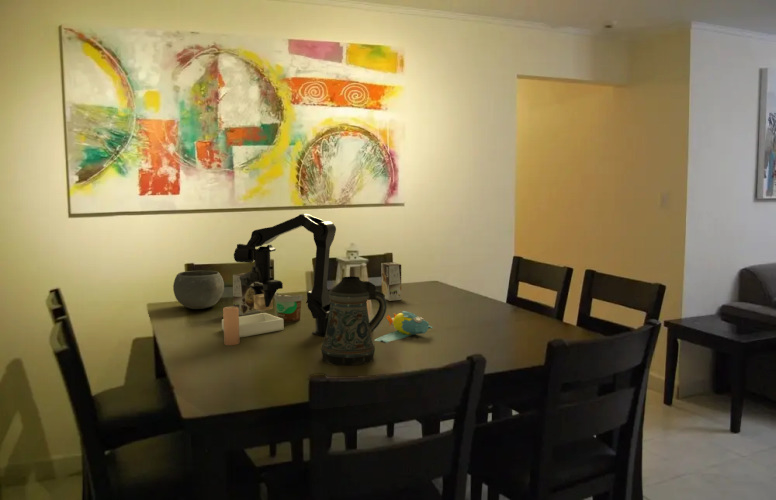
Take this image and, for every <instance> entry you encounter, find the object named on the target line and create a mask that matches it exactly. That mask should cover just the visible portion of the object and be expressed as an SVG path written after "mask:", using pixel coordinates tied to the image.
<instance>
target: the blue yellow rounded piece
mask: <svg viewBox="0 0 776 500" xmlns="http://www.w3.org/2000/svg"><path fill="white" fill-rule="evenodd" d="M393 316H394V317H391V316H390V314H387V315H386V316H385V318H386V319H387V321H388V323H389V324H388V325H389V327H390V326H391V325H393V327H394V329H395V330H394V331H391V332H389V333H386V334H384V335H381V336H379V337H377V338H376V339H374V342H375V341H376V342H383V343H385V344H388V343H390V342H392V341H398V340H401V339H406V338H408V337H410V336H413V335H420V334H426V333H427V332H428V330H429V328H430V329H433V326H431V325H430V324H429V321H426V320H425V319H424V318H422V316H417V315H416V314H415V313H413V312H410V311H406V310H402V312H399V313H393Z"/></svg>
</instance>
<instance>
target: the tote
mask: <svg viewBox="0 0 776 500" xmlns="http://www.w3.org/2000/svg"><path fill="white" fill-rule="evenodd" d="M284 325H285V323H284V319H282V318H279V317H277V316H275V315H273V314H270V313H268V312H263V313H262V312H261V313H253V314H248V315H240V316H239V336H240V338H245V337H246V338H247V337H250V336H251V337H252V336H256V335H262V334H267V333H272V332H278V331H279V332H280V331H284V330H285V328H284V327H285V326H284ZM221 330H222V331H223V332H224V319H221Z"/></svg>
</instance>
